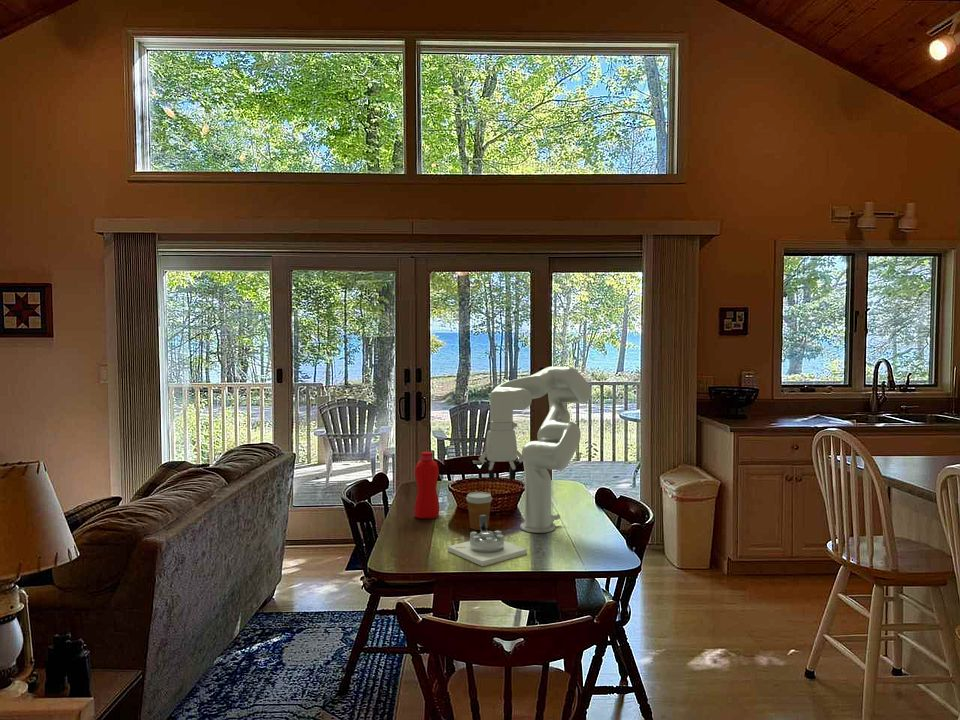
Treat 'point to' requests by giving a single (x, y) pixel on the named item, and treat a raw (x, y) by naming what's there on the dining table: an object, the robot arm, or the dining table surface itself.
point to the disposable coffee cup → (478, 507)
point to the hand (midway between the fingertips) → (501, 480)
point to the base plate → (487, 558)
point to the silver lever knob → (486, 539)
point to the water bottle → (426, 487)
